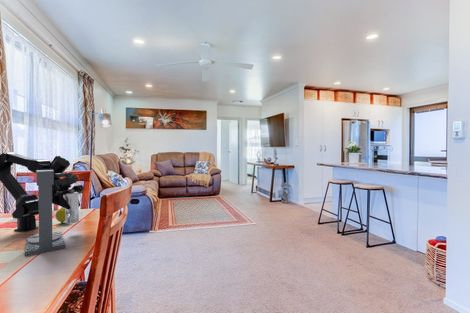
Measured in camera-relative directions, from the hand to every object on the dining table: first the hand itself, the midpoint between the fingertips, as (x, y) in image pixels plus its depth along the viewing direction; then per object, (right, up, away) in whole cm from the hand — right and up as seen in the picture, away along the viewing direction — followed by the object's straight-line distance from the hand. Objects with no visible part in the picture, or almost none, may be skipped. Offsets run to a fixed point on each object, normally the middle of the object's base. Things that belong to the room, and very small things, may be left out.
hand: (74, 207), depth 113 cm
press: (-3, -12, -12) cm, 17 cm away
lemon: (-17, -11, +17) cm, 26 cm away
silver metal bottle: (-1, -7, +1) cm, 7 cm away
